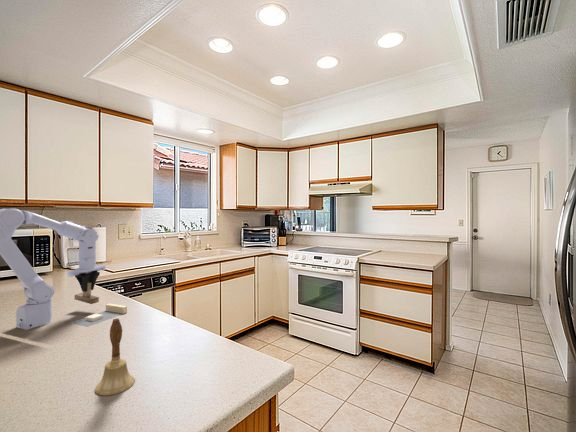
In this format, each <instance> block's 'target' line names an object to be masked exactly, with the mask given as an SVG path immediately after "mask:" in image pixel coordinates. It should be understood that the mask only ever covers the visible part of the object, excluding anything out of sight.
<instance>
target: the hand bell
mask: <svg viewBox="0 0 576 432" xmlns="http://www.w3.org/2000/svg"><path fill="white" fill-rule="evenodd" d="M112 319H113V320H112V323H111V324H110V325H111V326H110V329H109V340H110V343H111V347H112V348H111V360H109V361H108V362H107V363H105V365H104V371H103V374H102V377H101V379H100V380H99V382H98V383H97V384H96V386H95V387H94V392H95V393H96V394H97V395H99V396H112V395H117V394H120V393H123V392H126V391H127V390H129V389H130V388H131V387H132V386H133V385H134V384H135V383H136V379H135V377H134V375H132V374H130V372H129V369H128V364H127V361H126V359H124V358H121V351H120V349H121V348H120V345H121V341H122V337H123V326H122V324H121V321H120V319H119V318H112Z"/></svg>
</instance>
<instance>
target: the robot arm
mask: <svg viewBox="0 0 576 432" xmlns="http://www.w3.org/2000/svg"><path fill="white" fill-rule="evenodd" d="M30 224H33V225H37V226H40V227H44V228H47V229H50V230H55V231H56V233H57V234H58V235H59V236H61V237H65V238H69V239H72V240H76V241H78V268H75V269H72V270H68V271H67V277H74V278H75V279H76V280H77V281H78V284H79V286H80V288H81V292H82V293H83V292H86V291H87V289H88V282H91V283H92V285H91V291H93V290H94V289H95V285H96V282H97V279H98V277H99V276H100V273H101V271H106V270H107V269H106V265H104V264H102V265H96V264H97V263H96V261H97V257H96V255H97V252H96V249H97V247H96V245H97V244H96V242H97V241H98V239H99V234H98V232H97V231H96V230H95V229H94V228H86V225H83V224H82V225H79V224H76V223H74V221H73V220H68V221H67V220H64V221H61V222H60V221H57V220H54V219H51V218H49V217H46V216H44V215H40V214H37V213H35V212H32V211H28V210H20V209H18V208H15V207H14V208H13V207H12V208H0V257H2V259H3V260H4V261H5V263H6V264H7V266H8V267H9V268H10V270H12V272H13V273H14V275H15V276H16V277H17V279H18V280H19V281H20V283H21V286H22V288H23V291H24V292H23V293H24V296H25V297H26V298H27V299H26V301H25V304H23V305H20V306H18V308H17V309H16V315H15V316H16V319H15V320H16V321H15V322H16V323H15V324H16V328H18V329H20V330H25V331H26V330H30V329H33V328H37V327H40V326H41V327H42V326H45V325H47V324H50V323H52V322H53V296H54V294H55V289H54V287H53V286H51V285H50V284H48V283H46V282H45V280H44V279H43V278H42V277H40V275H39V274H38V273H37V272H36V270H35V269H34V268H33V266H32V265H31V263H30V262H29V260H28V259H27V258H26V256H25V255H24V254H23V253H22V251H21V250H20V249H19V247H18V246H17V244H16V243H15V242H14V240H13V238H12V237H13V235H14V233H15V231H16V230H17V229H18V228H19V227H20V226H21V225H30Z"/></svg>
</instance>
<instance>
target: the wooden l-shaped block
mask: <svg viewBox="0 0 576 432" xmlns="http://www.w3.org/2000/svg"><path fill="white" fill-rule="evenodd" d="M91 285H92V283H91V282H88V289H87V291H86V292H83V291H82V292H79V293H76V294H74V300H76V301H79V302H83V303H86V304H89V305H93V304H97V303H99V301H100V300H99V299H100V297H99V296H95V295H92V290H91Z"/></svg>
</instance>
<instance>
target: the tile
mask: <svg viewBox="0 0 576 432" xmlns="http://www.w3.org/2000/svg"><path fill="white" fill-rule="evenodd" d="M85 317H86V320H87V321H96V320H99V319H102V318H103V315H101V314H97V313H93V314H90V315H88V316H85Z"/></svg>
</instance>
